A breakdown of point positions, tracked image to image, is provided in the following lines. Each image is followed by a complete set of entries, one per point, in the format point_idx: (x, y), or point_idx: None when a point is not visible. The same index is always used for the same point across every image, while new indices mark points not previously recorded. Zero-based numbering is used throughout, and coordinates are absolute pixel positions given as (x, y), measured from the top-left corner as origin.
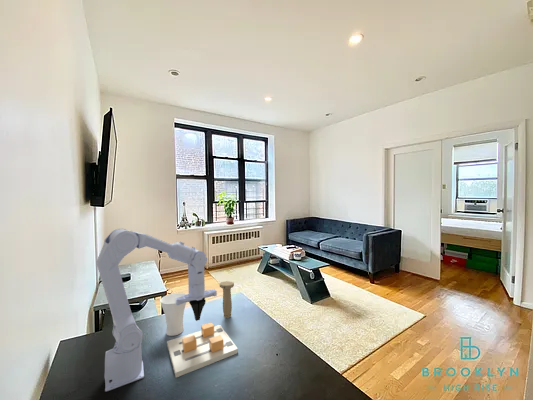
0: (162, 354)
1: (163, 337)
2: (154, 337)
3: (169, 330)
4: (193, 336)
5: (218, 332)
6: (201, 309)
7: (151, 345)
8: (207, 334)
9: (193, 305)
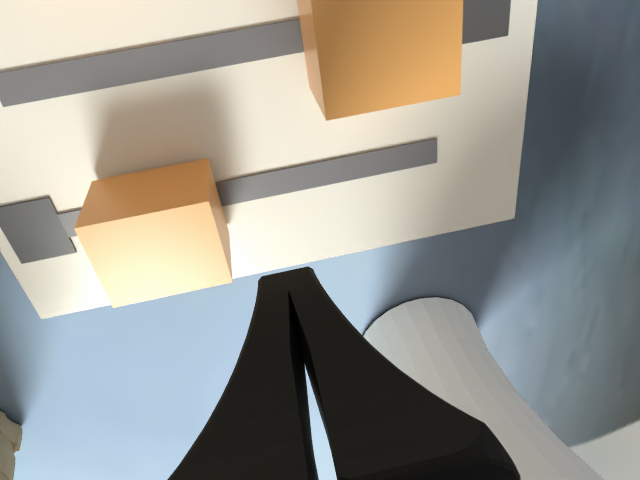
0: (553, 98)
1: (499, 298)
2: (548, 313)
3: (476, 333)
4: (337, 93)
5: (46, 198)
6: (242, 389)
7: (587, 236)
8: (166, 174)
9: (469, 445)
